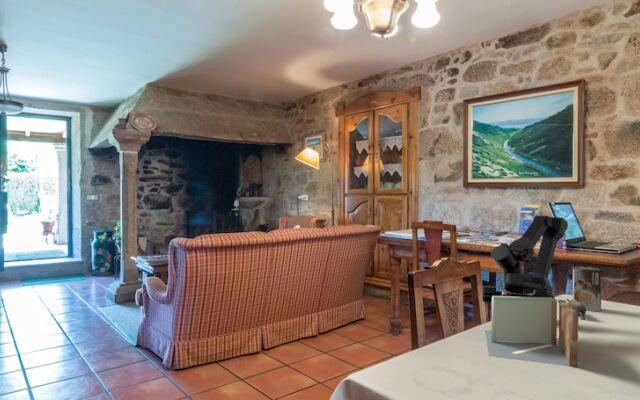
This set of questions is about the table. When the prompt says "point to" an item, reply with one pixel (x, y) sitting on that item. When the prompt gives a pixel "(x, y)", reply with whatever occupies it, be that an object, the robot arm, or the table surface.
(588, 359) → the table surface
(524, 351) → the card
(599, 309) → the coffee box
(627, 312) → the table surface
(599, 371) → the table surface
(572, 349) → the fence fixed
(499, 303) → the panel
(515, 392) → the table surface
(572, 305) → the rhino figurine
